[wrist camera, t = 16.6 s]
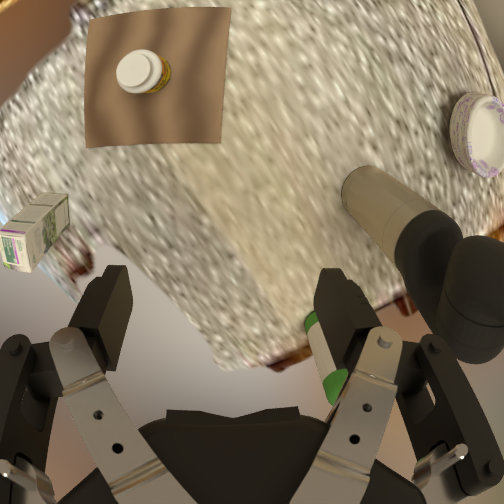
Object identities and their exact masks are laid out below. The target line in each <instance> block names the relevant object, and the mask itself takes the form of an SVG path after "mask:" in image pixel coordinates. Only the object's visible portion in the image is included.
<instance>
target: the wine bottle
mask: <svg viewBox="0 0 504 504" xmlns="http://www.w3.org/2000/svg"><path fill="white" fill-rule="evenodd" d="M305 330H306V333H307V337H308V340H309V343H310V346H311V349H312V352H313V356H314V359H315V362H316V365H317V368H318V371H319V374H320V378H321V381H322V384H323V387H324V390H325V393H326V397H327V399H328V401H329V403H330V404H331V405H332V406H333V404H334V402H335V400H336V398H337V396H338V394H339V392H340V390H341V387H342V385H343V383H344V381H345V379H346V377H347V375H348V371H347V369H341V370H336V367H335V364H334V361H333V359H332V356H331V353H330V350H329V348H328V345H327V342H326V340H325V337H324V334H323V332H322V329H321V326H320V324H319V321H318V318H317V316H316V313H315V311H314V312H313V313H311V314H310V315H309V316H308V318H307V319H306V322H305Z"/></svg>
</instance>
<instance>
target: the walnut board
mask: <svg viewBox="0 0 504 504" xmlns="http://www.w3.org/2000/svg"><path fill="white" fill-rule="evenodd" d="M230 15H231V8H227V7H182V8H165V9H154V10H144V11H136V12H129V13H123V14H117V15H111V16H106V17H101V18H96V19H92V20H89V28H88V37H87V48H86V62H85V88H84V114H85V140H86V148H91V147H102V146H115V145H131V144H154V143H221V126H222V110H223V95H224V82H225V69H226V57H227V46H228V35H229V25H230ZM140 49H145V50H149V51H152V52H154V53H155V54H157V55H159V56H161V57H162V58H164V59H165V60H167V62H168V63H169V65H170V67H171V78H170V80H169V82H168V84H167V85H166V86H165V87H164V88H163V89H161V90H159V91H157V92H153V93H130V92H127V91H125V90H124V89H122V88H121V86H120V85H119V83H118V81H117V77H116V70H117V66H118V64H119V62H120V61H121V60H122V59H123V58H124V57H125V56H126V55H127V54H129V53H130V52H132V51H135V50H140Z"/></svg>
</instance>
